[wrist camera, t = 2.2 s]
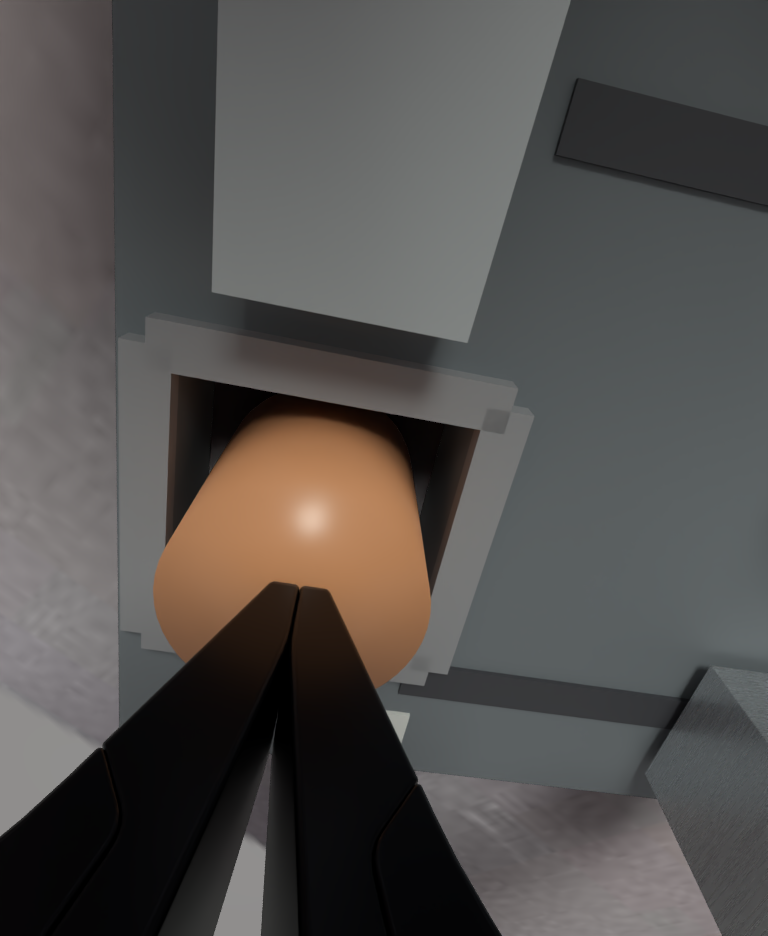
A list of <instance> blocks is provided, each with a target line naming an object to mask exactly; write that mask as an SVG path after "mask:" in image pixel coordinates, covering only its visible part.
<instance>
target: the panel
mask: <svg viewBox="0 0 768 936" xmlns="http://www.w3.org/2000/svg"><path fill="white" fill-rule="evenodd" d="M112 30H113V131H114V232H115V333H116V434H117V534H118V635H119V727H120V726H121V725H122V724H123V723H125V722H126V721H127V720H128V719H129V718H130V717H131V716H132V715H133V714H134V713H135V712H136V711H137V710H138V709H139V708H140V707H141V706H142V705H143V704H144V703H145V702H146V701H147V700H148V699H149V698H150V697H152V696H153V695H154V694H155V693H156V692H157V691H158V690H159V689H160V688H161V687H162V686H163V685H164V684H165V683H166V682H167V681H168V680H169V679H170V678H171V677H172V676H173V675H174V674H175V673H176V672H177V671H179V670H180V669H181V668H182V667H183V666H184V665H185V664H186V663H185V662H184V661H183V660H182V659H181V658H180V657H179V656H178V655H177V653H176V652H175V651H174V649H173V648H172V647H171V645H170V644H169V642H168V640H167V639H166V637H165V635H164V634H163V632H162V629H161V627H160V624H159V622H158V619H157V615H156V611H155V607H154V597H153V585H154V576H155V572H156V569H157V565H158V562H159V559H160V557H161V555H162V553H163V551H164V549H165V547H166V545H167V543H168V542H169V540H170V538H171V537H172V535H173V534H174V532H175V530H176V529H177V527H178V525H179V524H180V522H181V520H182V519H183V517H184V515H185V514H186V512H187V510H188V509H189V507H190V505H191V504H192V502H193V500H194V499H195V497H196V495H197V494H198V492H199V490H200V489H201V487H202V486H203V484H204V482H205V481H206V479H207V477H208V475H209V461H210V446H211V432H212V418H213V403H214V389H215V382H221V383H226V384H232V385H237V386H243V387H248V388H253V389H259V390H264V391H270V392H275V393H281V394H286V395H292V396H297V397H303V398H308V399H313V400H319V401H324V402H330V403H335V404H341V405H346V406H352V407H357V408H362V409H368V410H373V411H379V412H384V413H390V414H395V415H401V416H406V417H412V418H417V419H422V420H428V421H433V422H439V423H444V424H445V425H444V429H443V432H442V436H441V440H440V444H439V448H438V451H437V455H436V459H435V463H434V466H433V470H432V474H431V478H430V481H429V485H428V489H427V493H426V497H425V500H424V504H423V508H422V512H421V515H420V526H421V533H422V540H423V547H424V553H425V560H426V567H427V574H428V581H429V588H430V596H431V613H430V619H429V624H428V629H427V631H426V634H425V636H424V639H423V642H422V643H421V645H420V647H419V649H418V650H417V652H416V654H415V655H414V656H413V658H412V659H411V660H410V661H409V663H408V664H407V665H406V666H405V667H404V668H403V669H402V670H401V671H400V672H399V673H398V674H397V675H396V676H394V677H393V678H392V679H390V680H389V681H388V682H386V683H385V684H383V685H382V686H380V687H378V688H376V691H377V693H378V695H379V697H380V699H381V702H382V704H383V706H384V708H385V710H386V712H387V714H388V716H389V719H390V721H391V723H392V725H393V727H394V729H395V731H396V733H397V736H398V738H399V740H400V742H401V744H402V746H403V748H404V751H405V753H406V755H407V757H408V759H409V761H410V763H411V765H412V768H413V770H414V771H423V772H431V773H440V774H449V775H457V776H466V777H474V778H483V779H491V780H500V781H509V782H517V783H526V784H534V785H543V786H551V787H560V788H569V789H577V790H586V791H594V792H603V793H611V794H620V795H629V796H637V797H646V798H654V799H657V798H656V796H655V794H654V792H653V789H652V787H651V785H650V783H649V781H648V779H647V777H646V775H645V772H646V771H647V769H648V767H649V766H650V764H651V762H652V761H653V759H654V758H655V756H656V754H657V753H658V751H659V749H660V748H661V746H662V744H663V743H664V741H665V740H666V738H667V736H668V735H669V733H670V731H671V730H672V728H673V726H674V725H675V723H676V722H677V720H678V718H679V717H680V715H681V713H682V712H683V710H684V708H685V707H686V705H687V704H688V702H689V700H690V699H691V697H692V695H693V694H694V692H695V690H696V689H697V687H698V686H699V684H700V682H701V681H702V679H703V677H704V676H705V674H706V672H707V671H708V669H709V668H710V666H711V665H712V666H719V667H726V668H733V669H740V670H747V671H754V672H761V673H767V674H768V0H571V2H570V5H569V8H568V11H567V15H566V18H565V21H564V25H563V28H562V31H561V35H560V38H559V41H558V45H557V48H556V51H555V54H554V58H553V61H552V64H551V68H550V71H549V74H548V78H547V81H546V84H545V88H544V91H543V94H542V98H541V101H540V104H539V107H538V111H537V114H536V117H535V121H534V124H533V127H532V131H531V134H530V137H529V141H528V144H527V147H526V151H525V154H524V157H523V160H522V164H521V167H520V170H519V174H518V177H517V180H516V184H515V187H514V190H513V194H512V197H511V200H510V203H509V207H508V210H507V213H506V217H505V220H504V223H503V227H502V230H501V233H500V237H499V240H498V243H497V247H496V250H495V253H494V256H493V260H492V263H491V266H490V270H489V273H488V276H487V280H486V283H485V286H484V290H483V293H482V296H481V300H480V303H479V306H478V309H477V313H476V316H475V319H474V323H473V326H472V329H471V333H470V336H469V339H468V343H464V342H459V341H454V340H449V339H444V338H439V337H434V336H429V335H424V334H419V333H414V332H409V331H404V330H399V329H394V328H389V327H384V326H379V325H374V324H369V323H364V322H359V321H354V320H349V319H344V318H339V317H334V316H329V315H324V314H319V313H314V312H309V311H304V310H299V309H294V308H289V307H284V306H279V305H274V304H269V303H264V302H259V301H254V300H249V299H244V298H239V297H234V296H229V295H224V294H219V293H214V292H212V255H213V211H214V166H215V121H216V76H217V31H218V0H112ZM277 715H278V714H277ZM276 722H277V720H276ZM275 728H276V725H275ZM274 734H275V730H274ZM273 741H274V735H273V740H272V744H271V748H270V752H269V754H272V750H273Z"/></svg>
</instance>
